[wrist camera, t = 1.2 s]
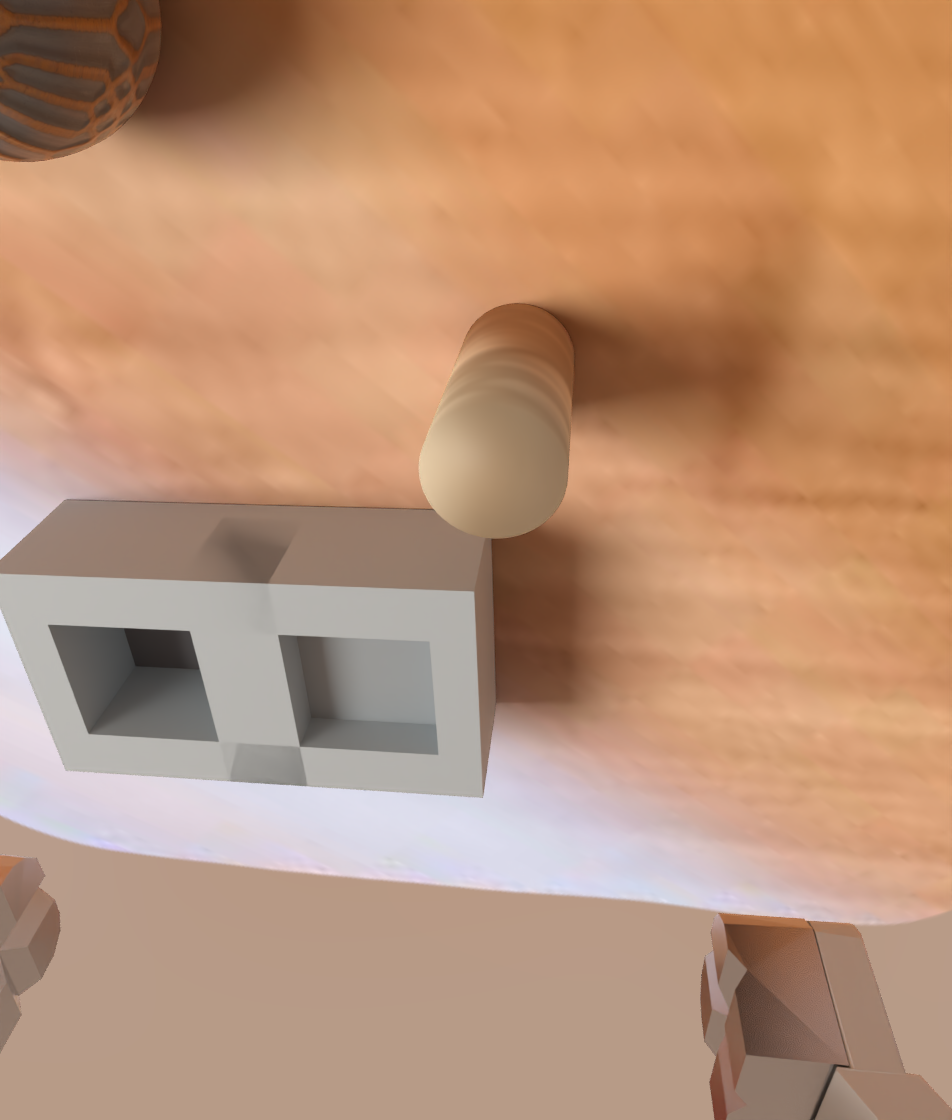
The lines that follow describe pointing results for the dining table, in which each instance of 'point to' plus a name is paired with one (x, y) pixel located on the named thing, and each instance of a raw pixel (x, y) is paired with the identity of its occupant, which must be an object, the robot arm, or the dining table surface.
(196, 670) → the bore block
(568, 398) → the dowel
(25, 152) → the vase
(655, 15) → the dining table surface
